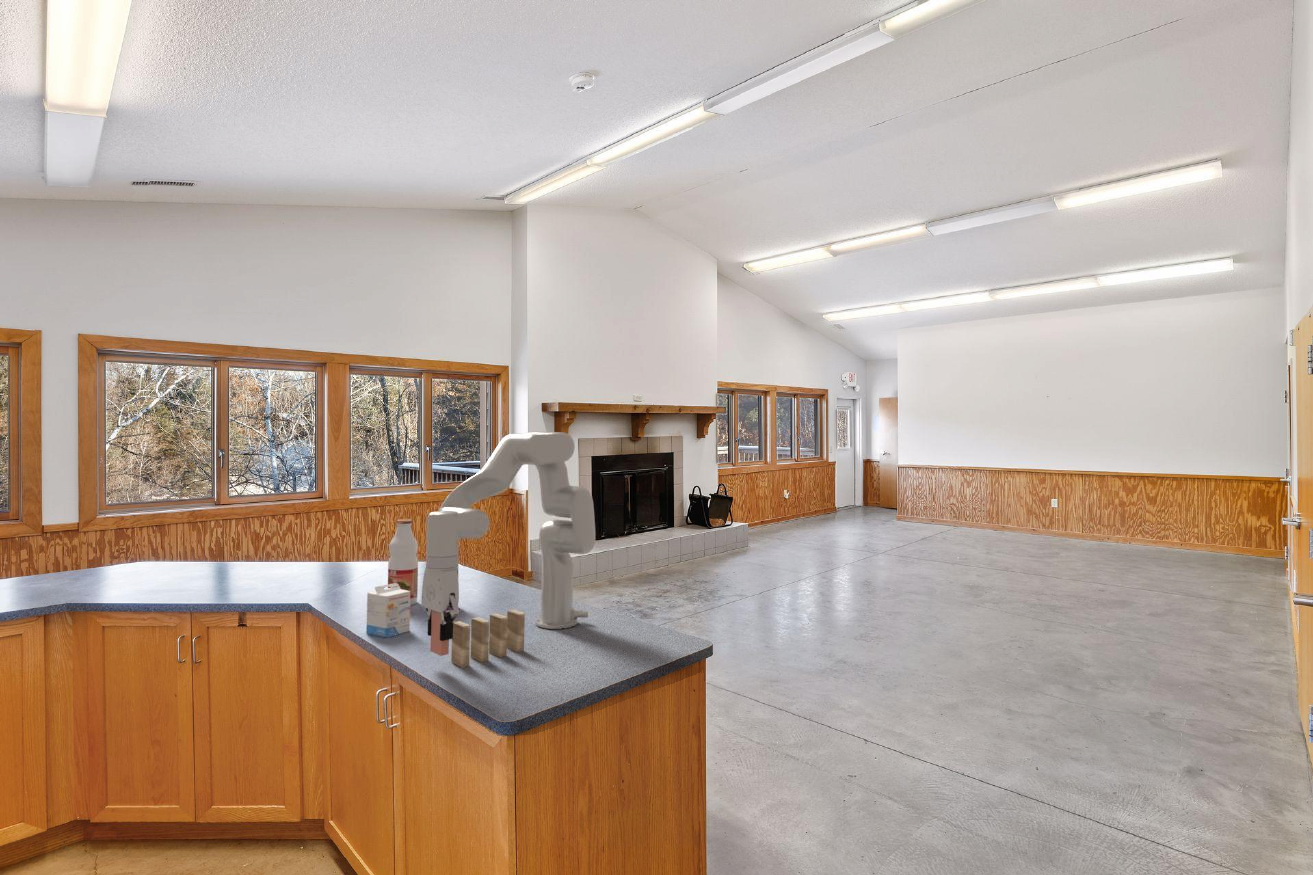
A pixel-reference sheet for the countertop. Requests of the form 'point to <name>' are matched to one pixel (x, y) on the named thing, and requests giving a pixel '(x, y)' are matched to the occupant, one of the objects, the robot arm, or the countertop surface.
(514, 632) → the domino
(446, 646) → the domino
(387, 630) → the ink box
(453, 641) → the domino
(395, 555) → the fruit juice
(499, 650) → the domino
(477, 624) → the domino
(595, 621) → the countertop surface
